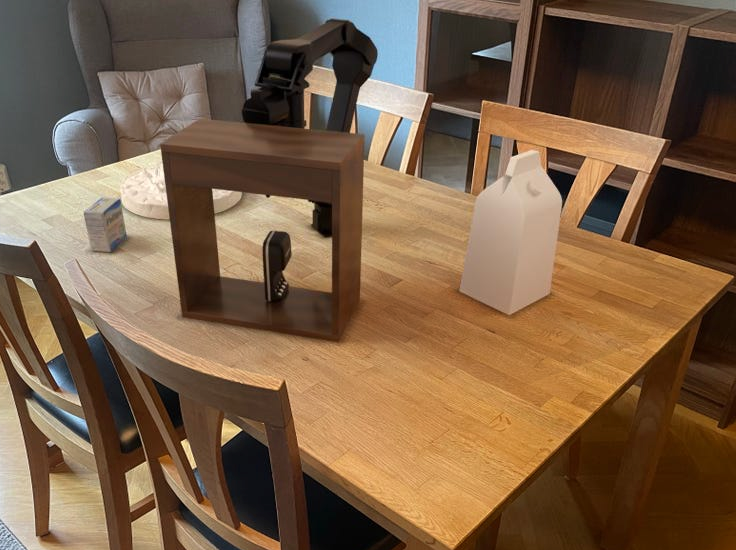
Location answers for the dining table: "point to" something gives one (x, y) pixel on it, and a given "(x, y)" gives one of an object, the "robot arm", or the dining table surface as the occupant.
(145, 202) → the cake
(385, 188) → the dining table surface
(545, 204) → the milk
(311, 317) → the brown wooden cubby shelf
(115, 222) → the medicine box
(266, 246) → the black rounded piece
